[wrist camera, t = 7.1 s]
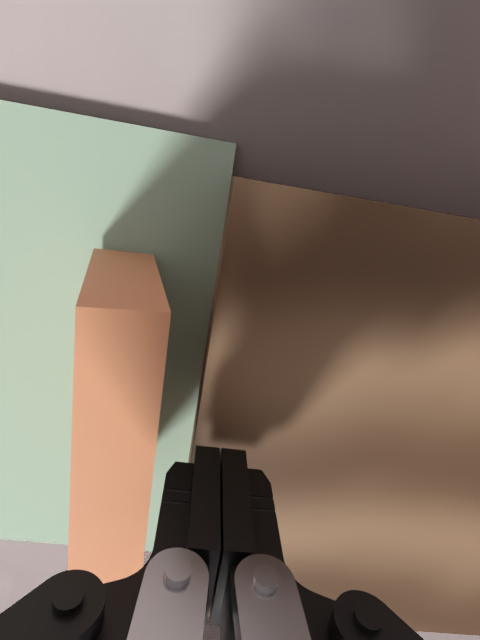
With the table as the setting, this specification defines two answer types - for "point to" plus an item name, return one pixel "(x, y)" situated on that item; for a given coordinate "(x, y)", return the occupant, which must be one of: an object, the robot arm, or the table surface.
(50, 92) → the table surface
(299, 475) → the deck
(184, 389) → the mat
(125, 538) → the tile
